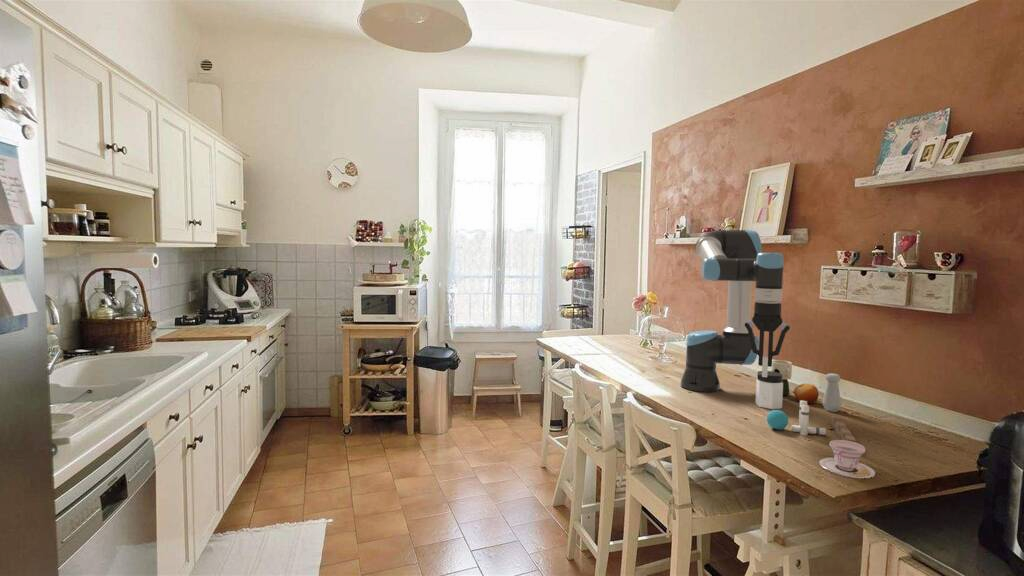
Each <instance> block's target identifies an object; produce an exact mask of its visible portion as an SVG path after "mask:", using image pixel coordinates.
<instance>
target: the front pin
mask: <svg viewBox="0 0 1024 576" xmlns="http://www.w3.org/2000/svg"><path fill="white" fill-rule="evenodd" d="M800 428H801V426H799V424H798V425H796V424H791V429H790V430H791V432H792V433H793V432H796V433H800ZM808 434H813V435H818V436H819V435H820V436H821V435H822V436H827V428H825V427H817V426H815V427H814V426H808Z"/></svg>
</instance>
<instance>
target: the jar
mask: <svg viewBox="0 0 1024 576" xmlns="http://www.w3.org/2000/svg"><path fill="white" fill-rule="evenodd" d="M756 375H757V377H756V379H755V381H756V383H755V404H756V405H757V407H759V408H763V409H769V410H780V409H783V399H784V398H783V396H784V395H783V382H782V378H783V375H782V374H781V373H778V372H772V370H771V371H770V370H768V372H767V377H762V370H760V371H757V374H756Z"/></svg>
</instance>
